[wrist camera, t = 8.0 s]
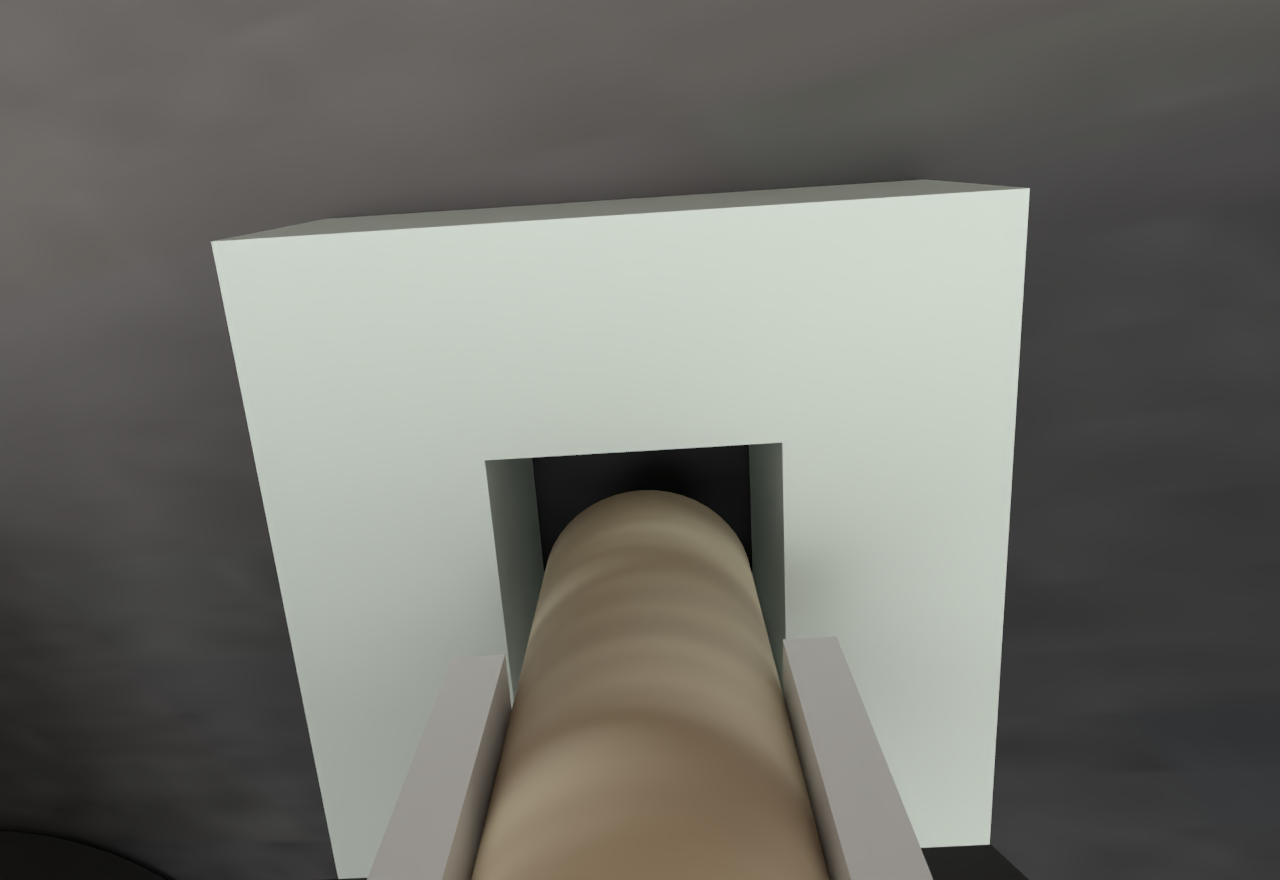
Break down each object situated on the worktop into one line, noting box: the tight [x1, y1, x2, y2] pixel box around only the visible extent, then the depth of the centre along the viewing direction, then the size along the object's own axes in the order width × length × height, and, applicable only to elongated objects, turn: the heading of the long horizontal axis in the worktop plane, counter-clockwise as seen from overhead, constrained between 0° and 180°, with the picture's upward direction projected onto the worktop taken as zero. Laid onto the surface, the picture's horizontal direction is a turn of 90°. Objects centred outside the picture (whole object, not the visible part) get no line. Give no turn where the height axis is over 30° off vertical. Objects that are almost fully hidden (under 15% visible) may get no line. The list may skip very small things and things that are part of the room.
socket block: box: [211, 179, 1030, 879], centre depth 20 cm, size 14×14×6 cm
